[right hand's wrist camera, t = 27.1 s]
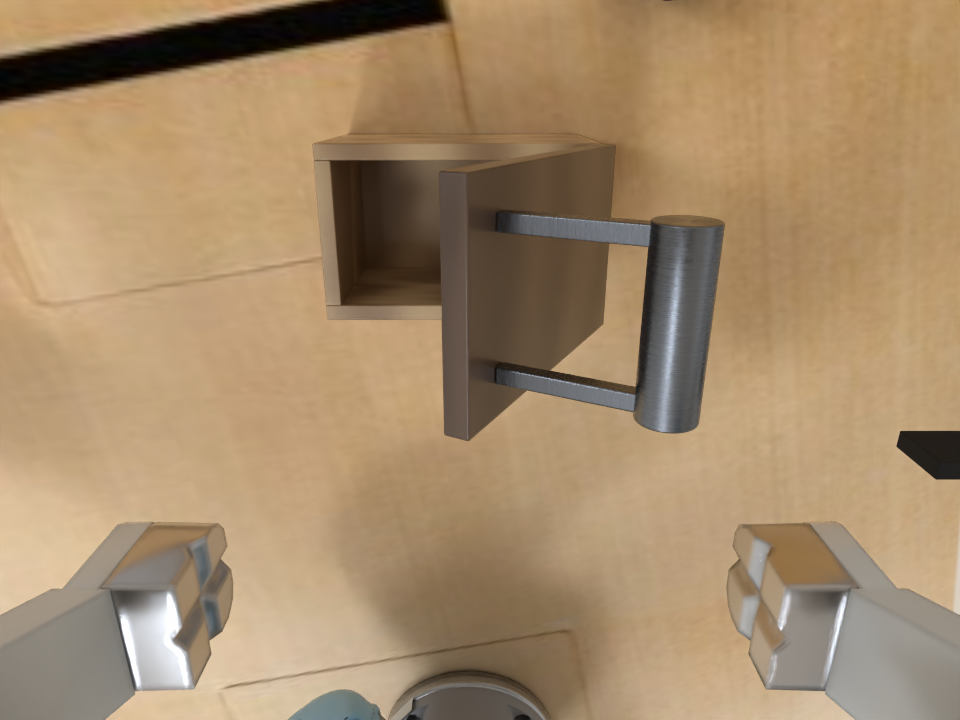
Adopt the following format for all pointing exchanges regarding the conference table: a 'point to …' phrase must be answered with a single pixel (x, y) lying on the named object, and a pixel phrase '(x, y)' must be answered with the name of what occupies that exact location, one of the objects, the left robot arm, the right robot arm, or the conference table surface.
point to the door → (565, 290)
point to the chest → (397, 215)
